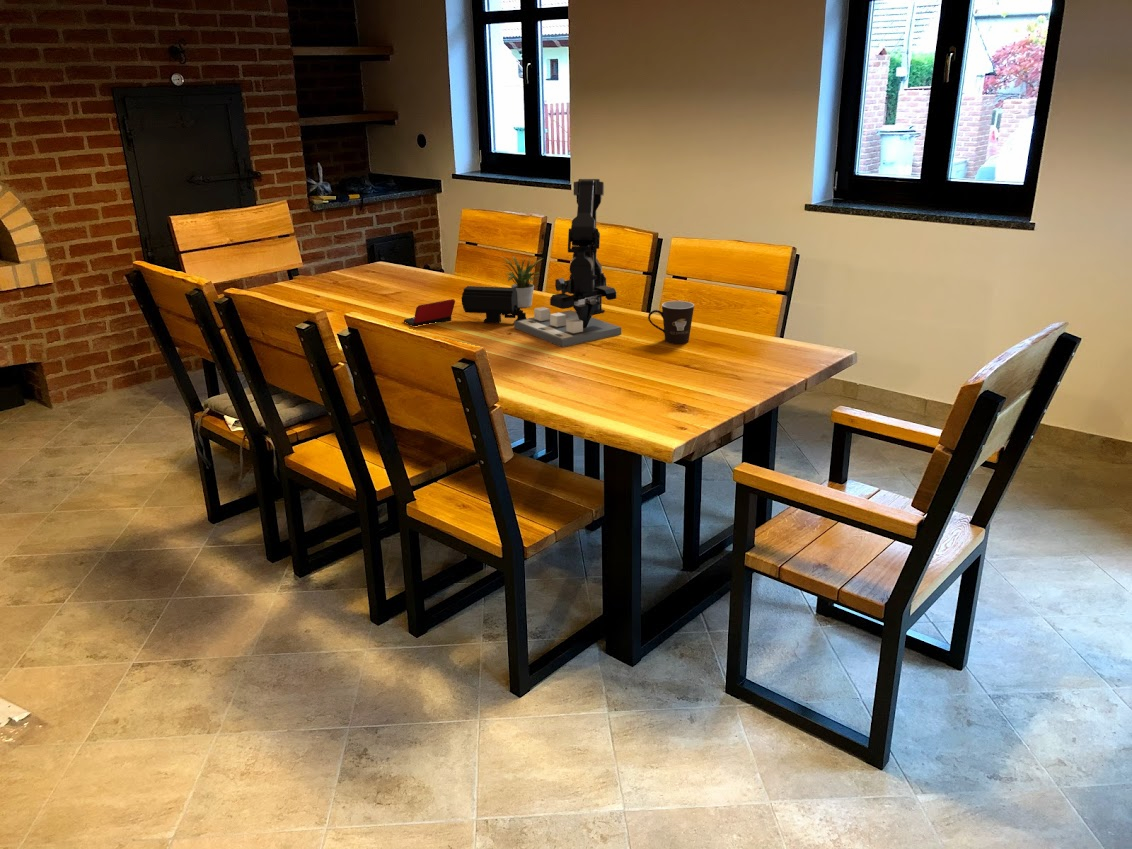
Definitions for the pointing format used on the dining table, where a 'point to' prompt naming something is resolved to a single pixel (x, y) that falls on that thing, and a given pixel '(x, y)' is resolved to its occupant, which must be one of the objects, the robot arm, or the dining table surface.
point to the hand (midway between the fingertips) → (584, 327)
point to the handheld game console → (432, 313)
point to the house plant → (523, 282)
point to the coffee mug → (676, 321)
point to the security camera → (492, 302)
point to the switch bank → (562, 336)
